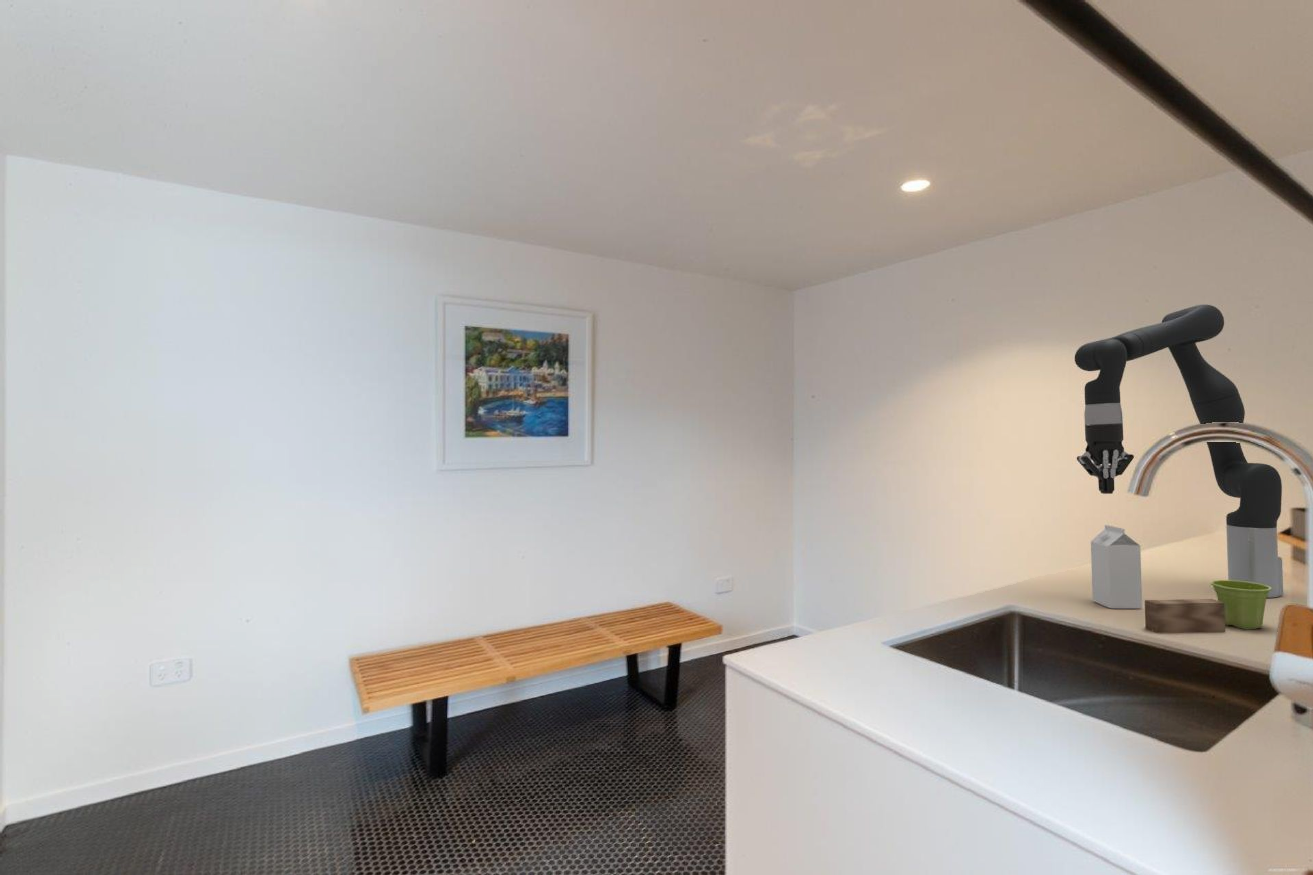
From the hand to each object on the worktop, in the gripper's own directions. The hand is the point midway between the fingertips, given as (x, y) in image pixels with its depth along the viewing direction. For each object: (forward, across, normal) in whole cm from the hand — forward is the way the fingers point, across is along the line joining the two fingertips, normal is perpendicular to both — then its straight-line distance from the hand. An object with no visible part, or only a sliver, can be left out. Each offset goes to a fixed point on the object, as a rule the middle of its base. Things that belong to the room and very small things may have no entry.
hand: (1106, 493), depth 149 cm
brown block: (+27, 0, +20) cm, 34 cm away
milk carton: (+27, 0, +1) cm, 27 cm away
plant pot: (+28, -14, +18) cm, 36 cm away
